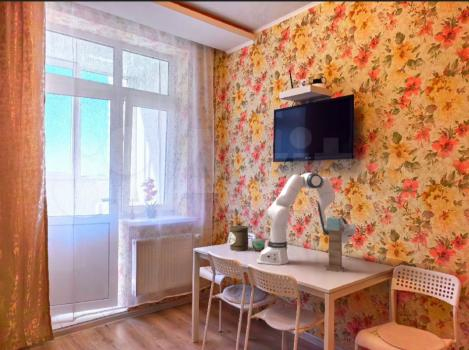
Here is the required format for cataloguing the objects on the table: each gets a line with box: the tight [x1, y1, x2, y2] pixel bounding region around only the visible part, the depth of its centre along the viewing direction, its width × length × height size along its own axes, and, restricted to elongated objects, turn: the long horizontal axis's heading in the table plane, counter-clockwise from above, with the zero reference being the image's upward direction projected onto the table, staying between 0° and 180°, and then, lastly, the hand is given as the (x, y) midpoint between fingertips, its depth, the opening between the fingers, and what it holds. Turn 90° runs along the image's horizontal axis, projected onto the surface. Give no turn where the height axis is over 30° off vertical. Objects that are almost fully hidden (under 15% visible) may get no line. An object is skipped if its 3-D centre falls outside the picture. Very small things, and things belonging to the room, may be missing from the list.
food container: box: [250, 238, 267, 253], centre depth 261 cm, size 12×6×10 cm, turn 105°
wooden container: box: [229, 221, 249, 252], centre depth 269 cm, size 15×15×22 cm
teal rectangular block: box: [326, 216, 342, 231], centre depth 211 cm, size 20×7×7 cm, turn 152°
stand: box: [325, 228, 346, 273], centre depth 209 cm, size 7×10×26 cm
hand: (337, 223), depth 217 cm, fingers open, 4 cm apart
